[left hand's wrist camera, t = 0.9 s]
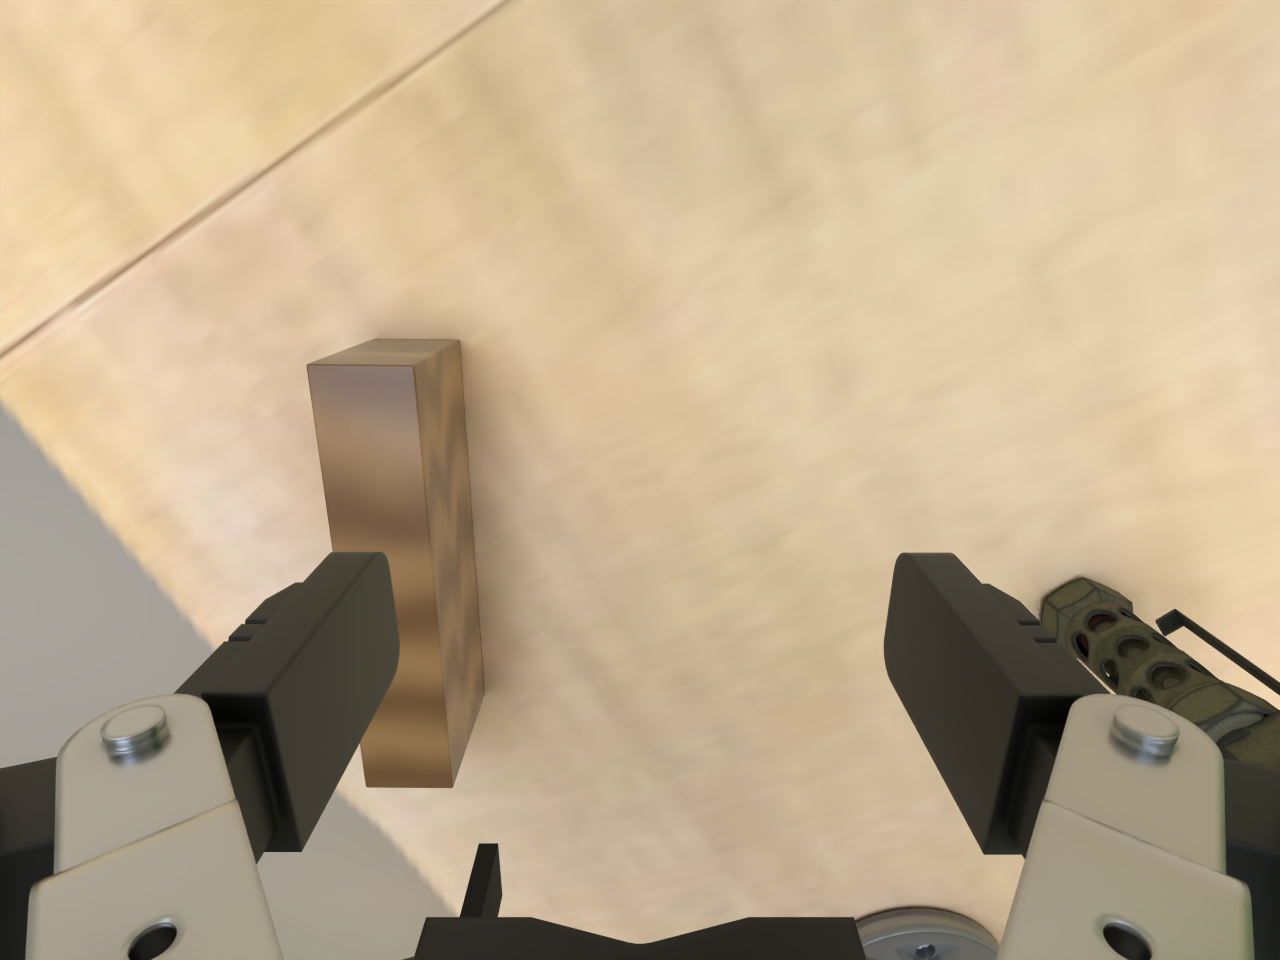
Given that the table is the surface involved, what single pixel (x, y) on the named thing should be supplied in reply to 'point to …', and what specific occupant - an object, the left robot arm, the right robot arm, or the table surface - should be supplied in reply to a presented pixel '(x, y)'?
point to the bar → (408, 540)
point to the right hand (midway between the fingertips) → (322, 868)
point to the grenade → (1164, 669)
